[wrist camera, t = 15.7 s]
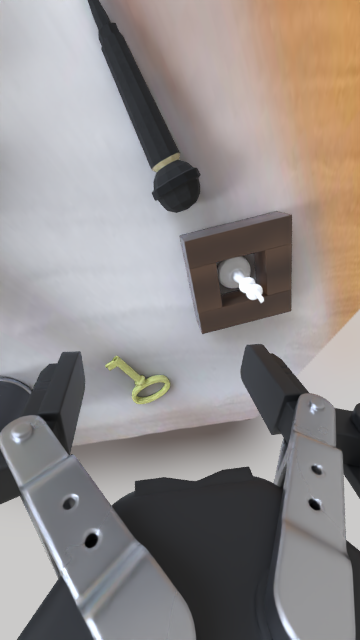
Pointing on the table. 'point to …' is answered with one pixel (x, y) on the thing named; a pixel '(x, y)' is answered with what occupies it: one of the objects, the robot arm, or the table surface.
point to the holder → (230, 242)
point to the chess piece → (239, 277)
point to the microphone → (147, 120)
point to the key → (140, 381)
